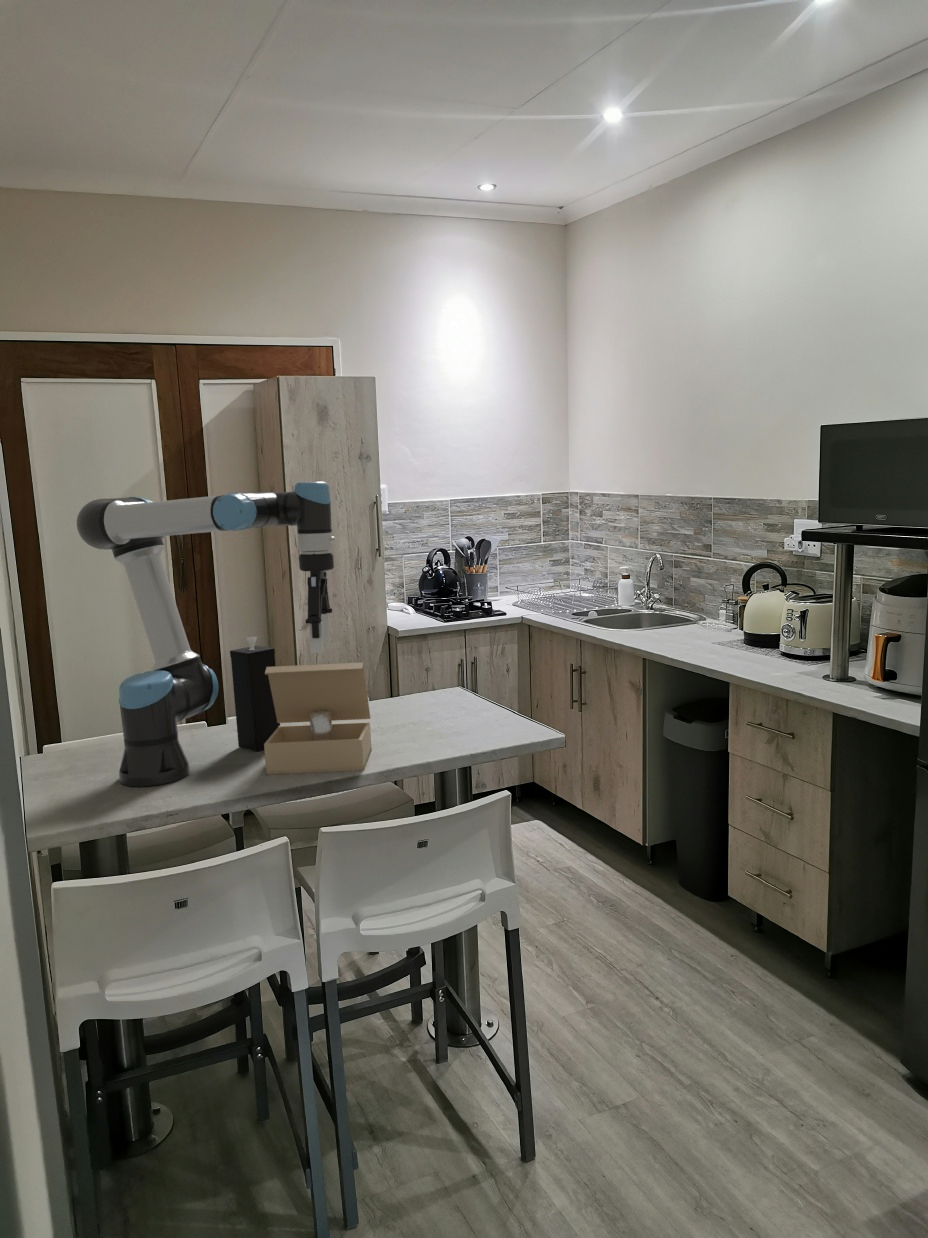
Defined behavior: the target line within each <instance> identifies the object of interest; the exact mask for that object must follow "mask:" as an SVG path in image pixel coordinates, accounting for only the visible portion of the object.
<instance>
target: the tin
mask: <svg viewBox="0 0 928 1238" xmlns="http://www.w3.org/2000/svg"><path fill="white" fill-rule="evenodd" d="M309 714H310V722H309V724H310V727H311V741H323V740H333V735H332V723H333V722H332V721H331V711H330V710H315V711H311V712H310V713H309Z"/></svg>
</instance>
